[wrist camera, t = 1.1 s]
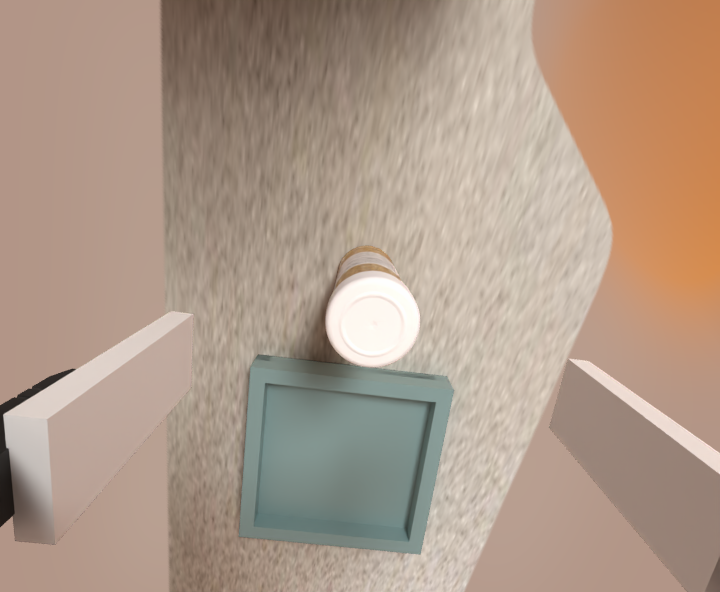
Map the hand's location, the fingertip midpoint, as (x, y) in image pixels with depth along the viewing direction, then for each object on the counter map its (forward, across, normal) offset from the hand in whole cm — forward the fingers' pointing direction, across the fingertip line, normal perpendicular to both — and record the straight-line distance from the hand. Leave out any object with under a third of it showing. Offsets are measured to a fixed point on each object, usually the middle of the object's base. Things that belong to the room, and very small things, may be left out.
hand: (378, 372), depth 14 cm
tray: (+18, 0, -16) cm, 24 cm away
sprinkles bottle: (+18, 0, 0) cm, 19 cm away
